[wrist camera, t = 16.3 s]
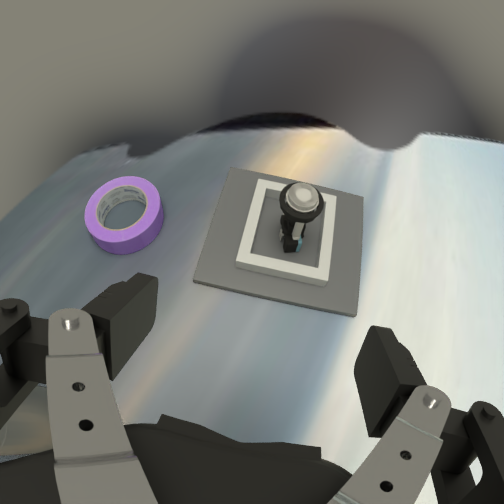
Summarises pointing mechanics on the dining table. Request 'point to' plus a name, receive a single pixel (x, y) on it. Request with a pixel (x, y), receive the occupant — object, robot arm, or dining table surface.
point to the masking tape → (134, 234)
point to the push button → (298, 212)
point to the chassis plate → (271, 248)
